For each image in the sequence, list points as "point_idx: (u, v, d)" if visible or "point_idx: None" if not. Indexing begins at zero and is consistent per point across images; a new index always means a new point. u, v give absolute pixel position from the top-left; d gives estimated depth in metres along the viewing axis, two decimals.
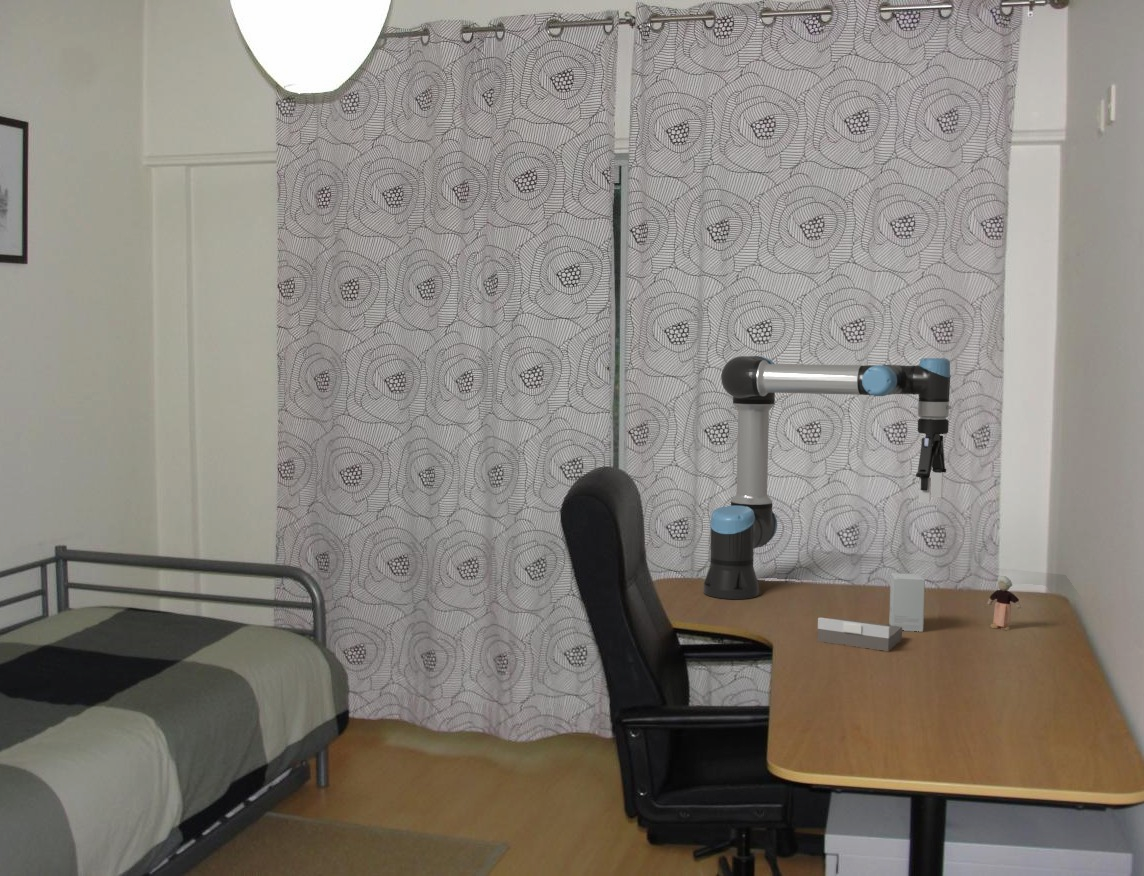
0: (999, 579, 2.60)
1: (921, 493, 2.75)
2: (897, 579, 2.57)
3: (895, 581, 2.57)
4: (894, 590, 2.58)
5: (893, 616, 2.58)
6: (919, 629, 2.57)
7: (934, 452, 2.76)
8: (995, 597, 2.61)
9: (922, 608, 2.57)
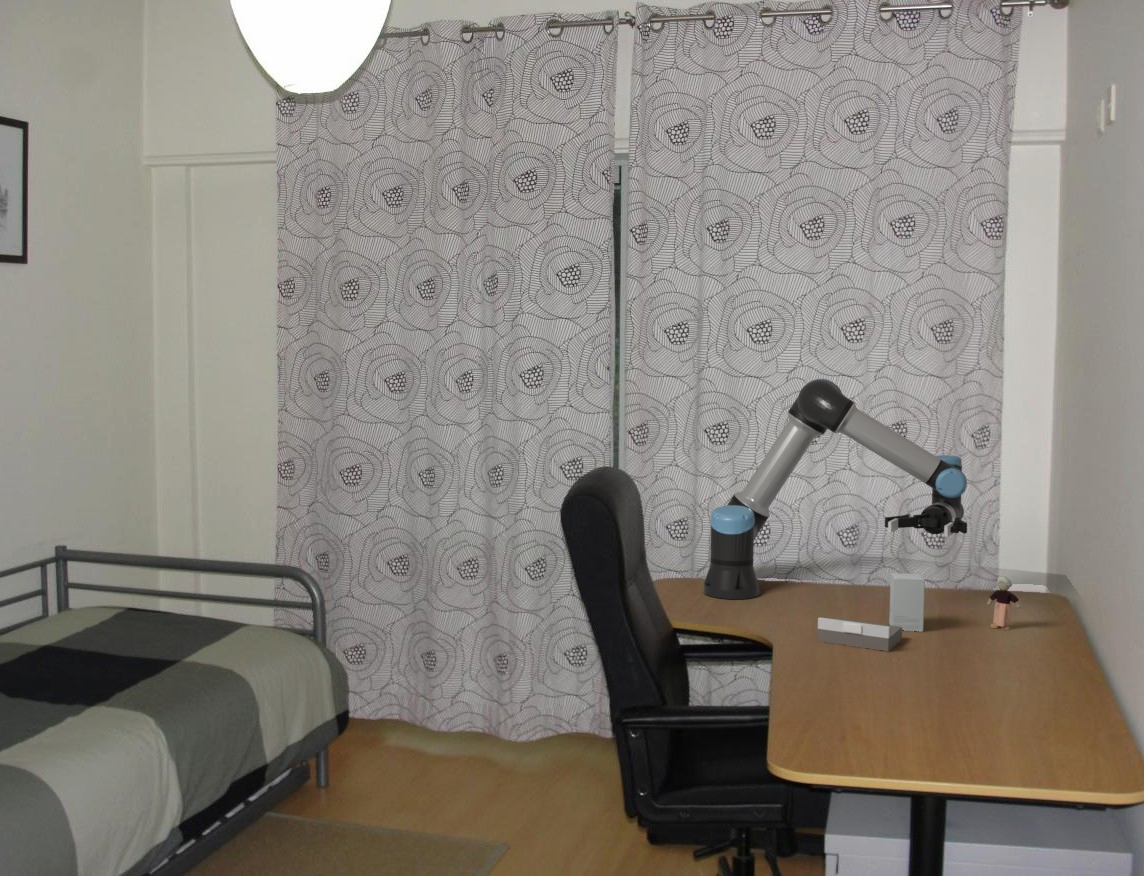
0: (999, 579, 2.60)
1: (949, 527, 2.66)
2: (897, 579, 2.57)
3: (895, 581, 2.57)
4: (894, 590, 2.58)
5: (893, 616, 2.58)
6: (919, 629, 2.57)
7: None
8: (995, 597, 2.61)
9: (922, 608, 2.57)
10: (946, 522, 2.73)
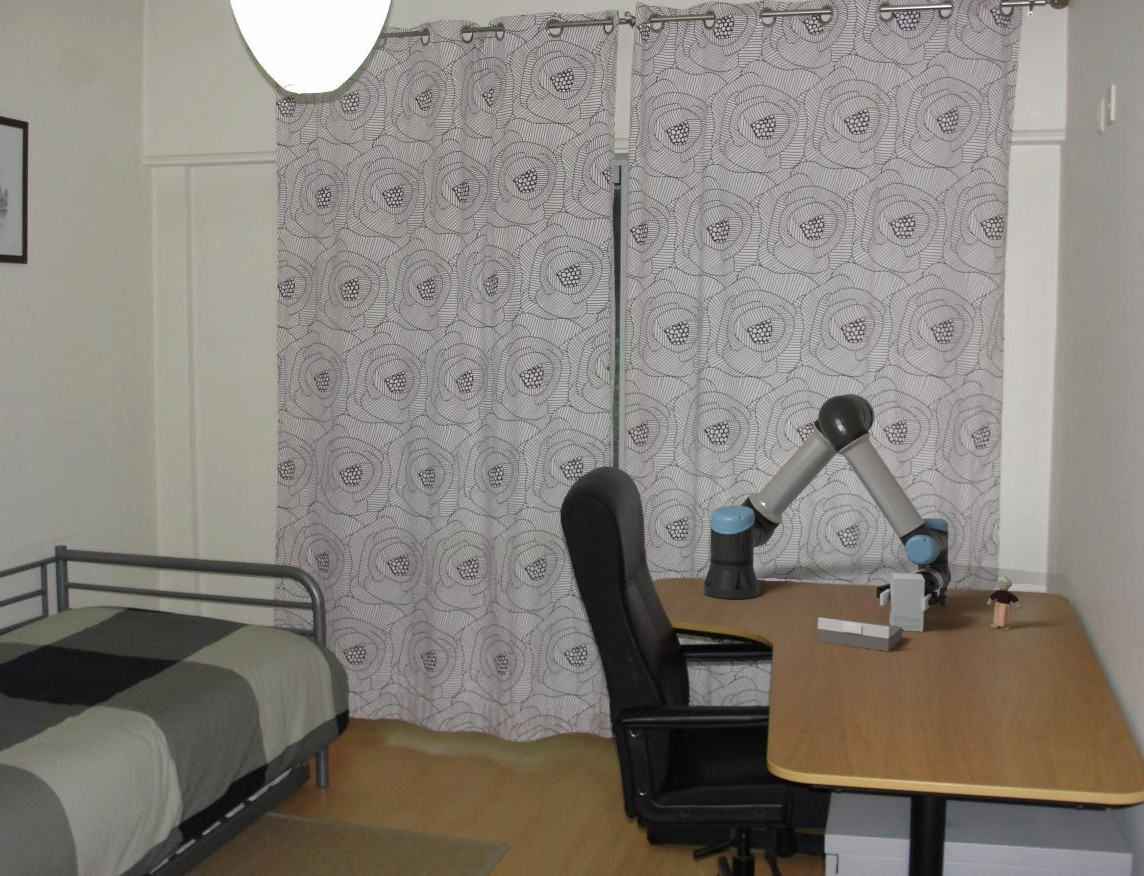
0: (999, 579, 2.60)
1: (927, 600, 2.56)
2: (897, 579, 2.57)
3: (895, 581, 2.57)
4: (894, 590, 2.58)
5: (893, 616, 2.58)
6: (919, 629, 2.57)
7: None
8: (995, 597, 2.61)
9: None
10: (927, 592, 2.64)
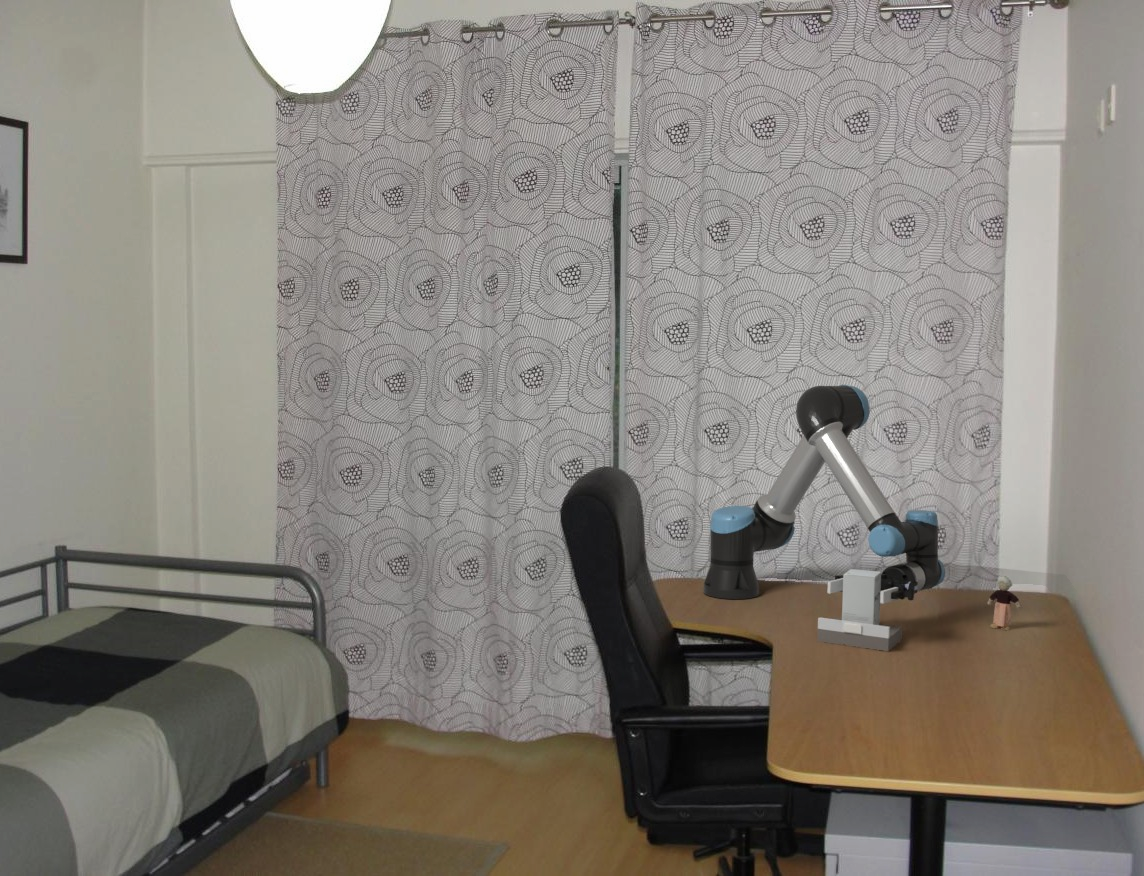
0: (999, 579, 2.60)
1: (888, 593, 2.43)
2: (846, 575, 2.47)
3: (844, 577, 2.47)
4: (843, 586, 2.47)
5: (842, 613, 2.48)
6: None
7: None
8: (995, 597, 2.61)
9: (872, 606, 2.45)
10: (895, 586, 2.50)
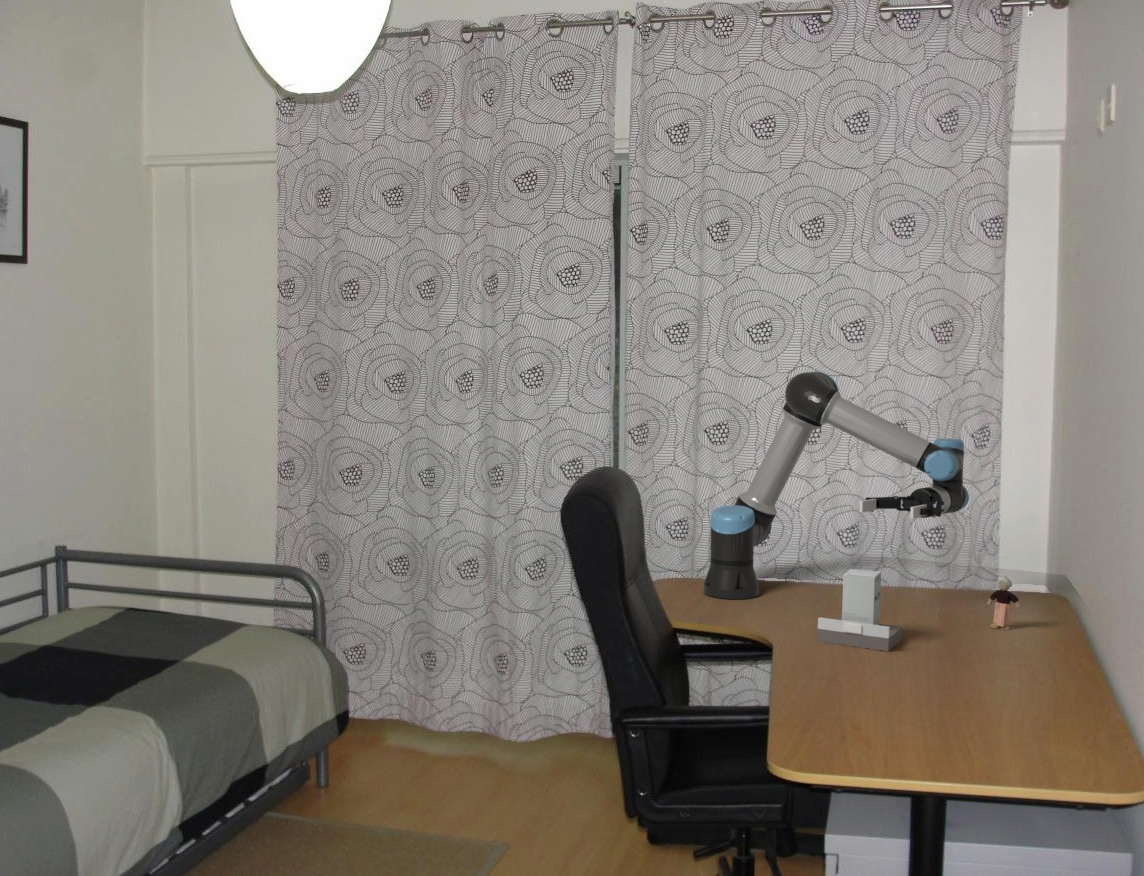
0: (999, 579, 2.60)
1: (918, 509, 2.59)
2: (846, 575, 2.47)
3: (844, 577, 2.47)
4: (843, 586, 2.47)
5: (842, 613, 2.48)
6: None
7: None
8: (995, 597, 2.61)
9: (872, 606, 2.45)
10: (924, 505, 2.66)
